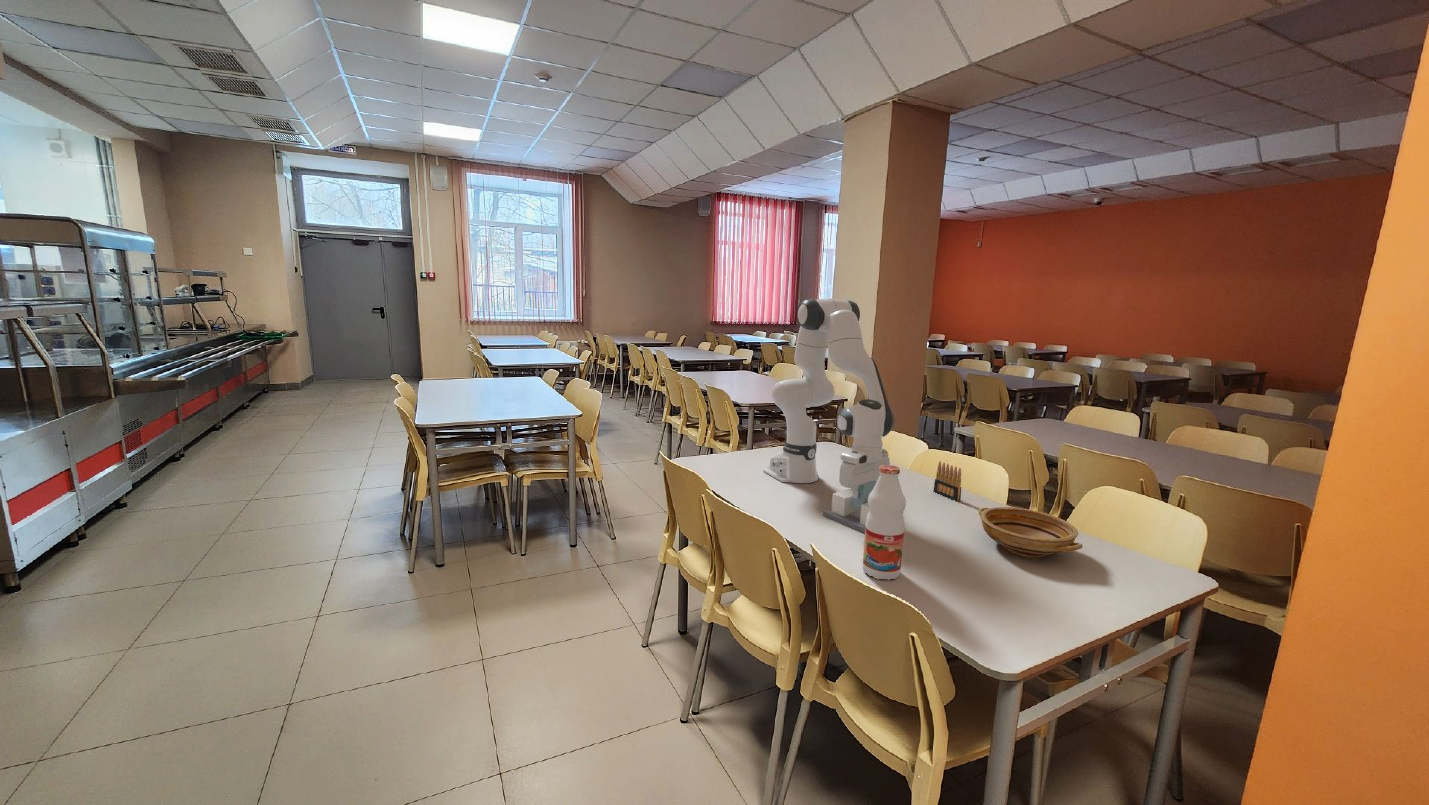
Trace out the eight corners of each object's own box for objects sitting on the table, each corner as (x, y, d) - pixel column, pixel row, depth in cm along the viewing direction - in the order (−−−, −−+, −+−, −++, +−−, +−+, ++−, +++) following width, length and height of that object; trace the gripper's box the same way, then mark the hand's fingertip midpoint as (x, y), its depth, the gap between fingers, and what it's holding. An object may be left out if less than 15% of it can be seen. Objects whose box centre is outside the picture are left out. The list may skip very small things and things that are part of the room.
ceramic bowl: (951, 535, 168) (954, 510, 166) (1006, 523, 178) (1009, 499, 177) (1046, 580, 142) (1050, 551, 140) (1104, 563, 152) (1108, 535, 151)
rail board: (822, 515, 181) (824, 493, 180) (851, 506, 189) (853, 485, 188) (873, 537, 165) (875, 513, 164) (902, 526, 173) (904, 503, 172)
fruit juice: (897, 565, 148) (905, 463, 143) (903, 583, 139) (913, 474, 134) (860, 562, 149) (867, 460, 144) (864, 579, 140) (872, 471, 135)
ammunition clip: (960, 501, 197) (964, 468, 195) (956, 501, 196) (960, 468, 194) (936, 491, 207) (939, 460, 204) (933, 492, 206) (936, 460, 204)
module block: (852, 505, 176) (853, 480, 175) (864, 501, 179) (866, 477, 178) (862, 509, 173) (864, 484, 171) (874, 505, 176) (876, 481, 175)
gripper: (879, 446, 182) (876, 487, 184) (837, 455, 170) (834, 499, 172) (896, 450, 177) (893, 492, 179) (853, 460, 165) (850, 505, 167)
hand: (864, 495), depth 176 cm, fingers closed on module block, 6 cm apart
